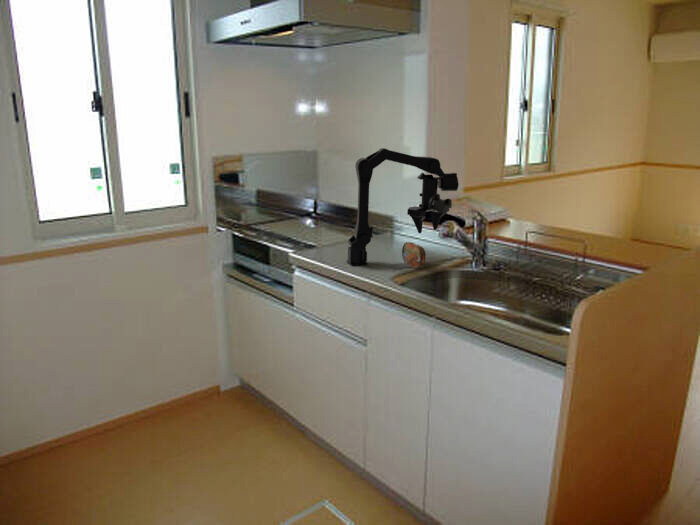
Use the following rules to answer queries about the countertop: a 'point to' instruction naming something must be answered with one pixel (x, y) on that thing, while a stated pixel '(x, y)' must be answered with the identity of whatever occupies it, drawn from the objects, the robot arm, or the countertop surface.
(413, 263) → the tin
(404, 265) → the drying mat
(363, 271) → the countertop surface
